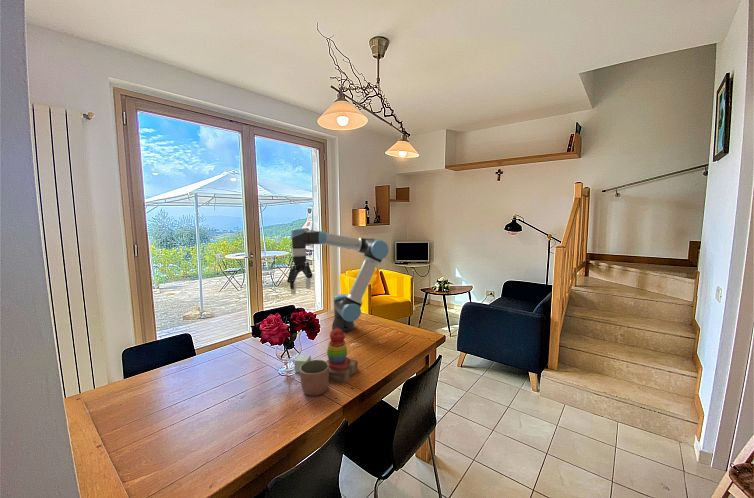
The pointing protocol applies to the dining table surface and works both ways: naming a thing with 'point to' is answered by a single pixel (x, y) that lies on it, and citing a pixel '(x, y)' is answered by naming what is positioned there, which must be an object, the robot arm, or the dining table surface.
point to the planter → (314, 377)
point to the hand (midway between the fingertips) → (301, 291)
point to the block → (301, 361)
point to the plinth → (343, 372)
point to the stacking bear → (337, 350)
